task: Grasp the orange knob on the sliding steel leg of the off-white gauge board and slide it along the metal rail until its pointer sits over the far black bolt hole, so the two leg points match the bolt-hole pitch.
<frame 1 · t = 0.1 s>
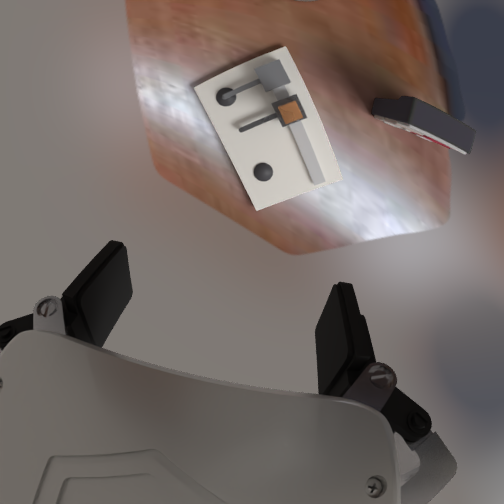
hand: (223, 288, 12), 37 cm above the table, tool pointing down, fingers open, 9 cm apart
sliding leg: (268, 119, 35), point 6 cm above the table, slide at 2.0 cm
gauge board: (271, 129, 42), on the table
calculator: (400, 116, 38), on the table
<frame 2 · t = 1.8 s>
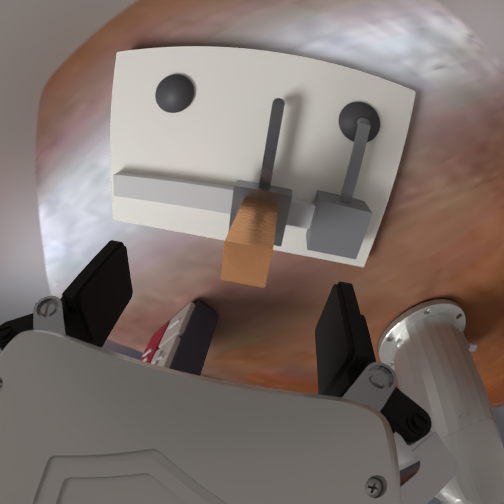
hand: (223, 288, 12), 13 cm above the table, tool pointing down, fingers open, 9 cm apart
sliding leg: (263, 182, 16), point 6 cm above the table, slide at 2.0 cm
gauge board: (247, 147, 21), on the table
calculator: (184, 325, 33), on the table
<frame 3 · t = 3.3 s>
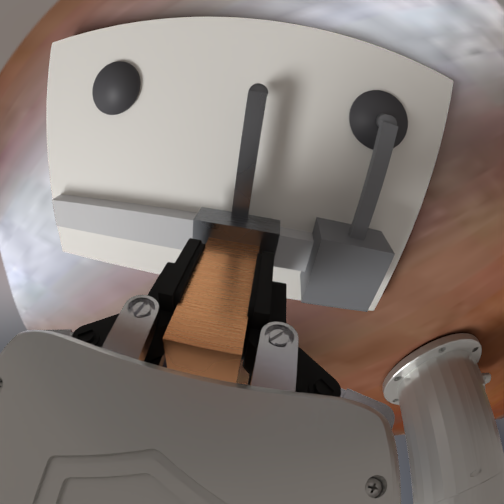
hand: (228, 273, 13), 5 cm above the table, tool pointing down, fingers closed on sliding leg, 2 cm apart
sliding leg: (231, 222, 10), point 6 cm above the table, slide at 2.0 cm, touching gripper
gauge board: (217, 156, 15), on the table
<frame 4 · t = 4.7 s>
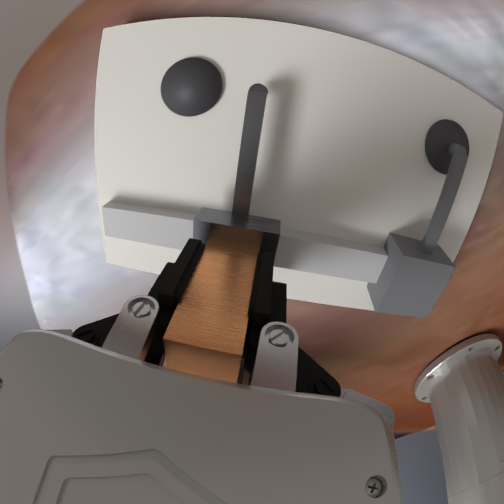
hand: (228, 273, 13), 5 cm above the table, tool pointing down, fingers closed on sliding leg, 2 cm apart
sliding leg: (231, 222, 10), point 6 cm above the table, slide at 6.5 cm, touching gripper
gauge board: (296, 169, 15), on the table
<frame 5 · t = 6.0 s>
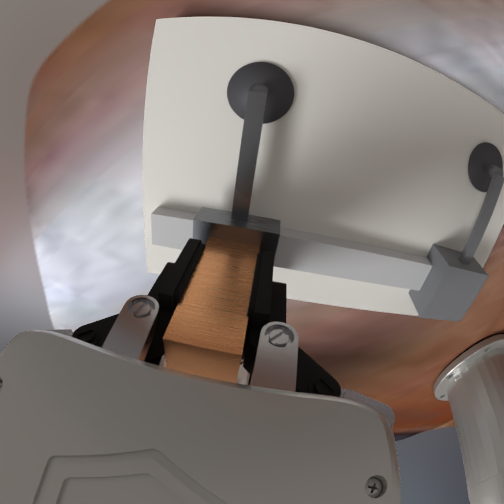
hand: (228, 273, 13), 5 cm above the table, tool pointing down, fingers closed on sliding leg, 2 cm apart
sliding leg: (231, 222, 10), point 6 cm above the table, slide at 10.0 cm, touching gripper
gauge board: (354, 182, 15), on the table
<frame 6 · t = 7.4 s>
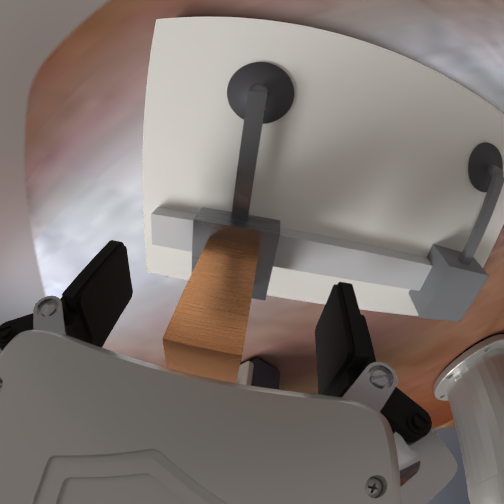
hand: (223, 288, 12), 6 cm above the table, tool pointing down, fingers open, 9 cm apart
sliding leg: (231, 222, 10), point 6 cm above the table, slide at 10.0 cm
gauge board: (354, 182, 15), on the table
calculator: (232, 379, 27), on the table
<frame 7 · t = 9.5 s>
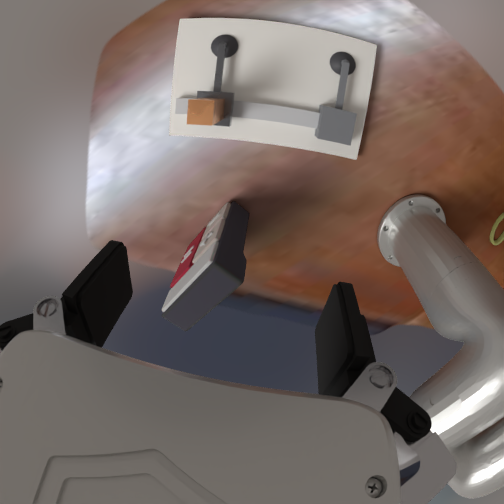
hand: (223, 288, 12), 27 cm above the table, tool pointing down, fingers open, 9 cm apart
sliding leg: (212, 80, 24), point 6 cm above the table, slide at 10.0 cm
gauge board: (271, 81, 29), on the table
calculator: (217, 230, 41), on the table
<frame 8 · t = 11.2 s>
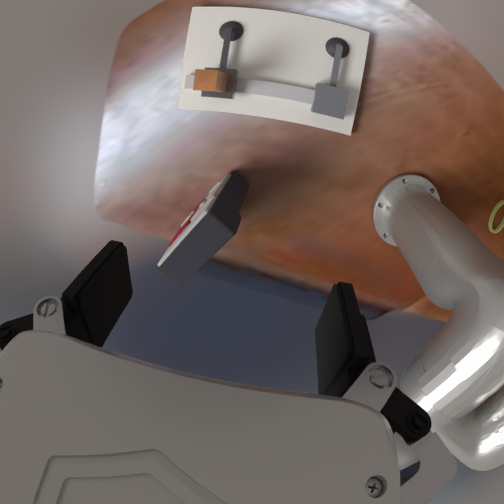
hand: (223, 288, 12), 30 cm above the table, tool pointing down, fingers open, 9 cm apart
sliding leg: (218, 57, 26), point 6 cm above the table, slide at 10.0 cm
gauge board: (272, 63, 31), on the table
calculator: (218, 200, 43), on the table
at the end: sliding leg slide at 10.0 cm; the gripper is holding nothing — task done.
